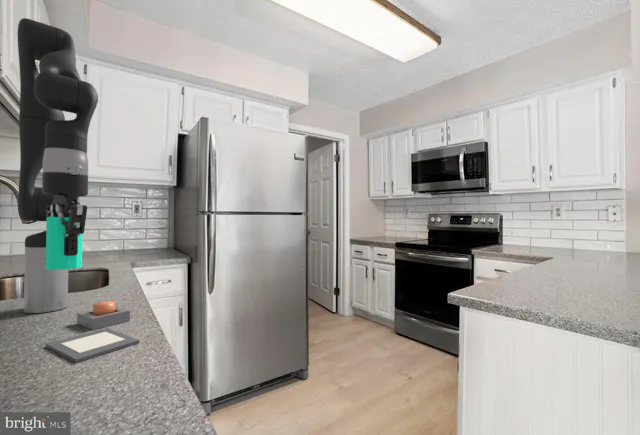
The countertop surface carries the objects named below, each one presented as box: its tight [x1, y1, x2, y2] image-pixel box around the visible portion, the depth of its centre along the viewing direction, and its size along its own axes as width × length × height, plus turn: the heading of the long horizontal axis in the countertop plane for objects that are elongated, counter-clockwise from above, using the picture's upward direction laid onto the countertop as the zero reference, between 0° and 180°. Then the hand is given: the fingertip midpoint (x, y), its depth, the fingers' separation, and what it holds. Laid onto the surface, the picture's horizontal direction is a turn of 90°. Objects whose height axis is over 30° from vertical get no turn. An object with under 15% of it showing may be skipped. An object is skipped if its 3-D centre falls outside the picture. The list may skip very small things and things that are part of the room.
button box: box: [76, 305, 131, 331], centre depth 78 cm, size 8×8×2 cm
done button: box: [92, 300, 116, 316], centre depth 79 cm, size 4×4×3 cm
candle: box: [45, 217, 83, 270], centre depth 68 cm, size 6×6×12 cm
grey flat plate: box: [45, 327, 140, 364], centre depth 65 cm, size 13×11×1 cm
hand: (64, 254), depth 68 cm, fingers closed on candle, 4 cm apart
